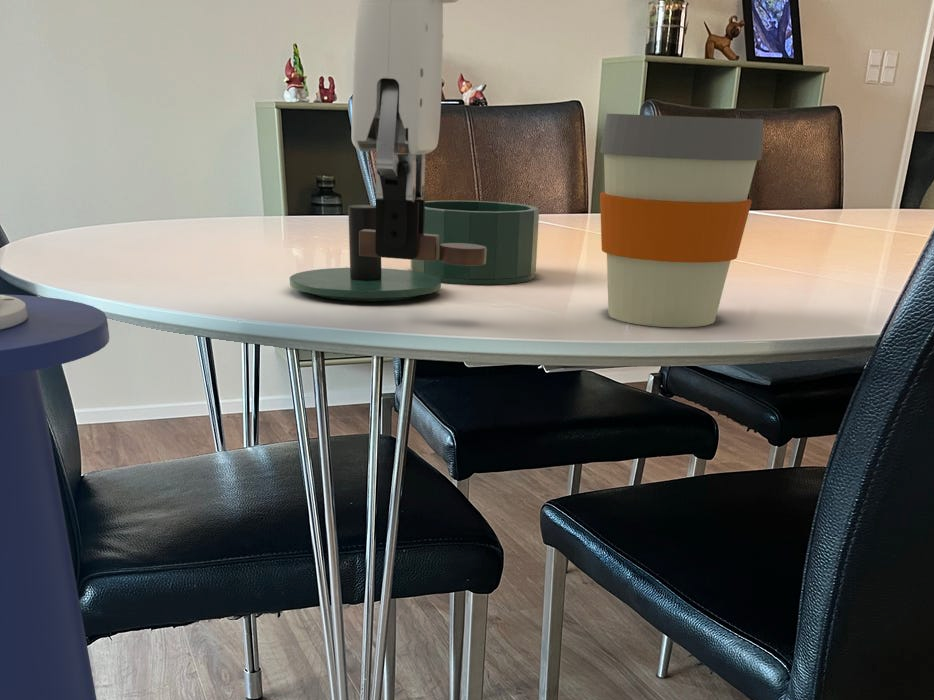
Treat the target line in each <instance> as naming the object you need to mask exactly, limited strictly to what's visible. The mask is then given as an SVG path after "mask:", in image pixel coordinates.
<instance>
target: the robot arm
mask: <svg viewBox="0 0 934 700" xmlns="http://www.w3.org/2000/svg"><path fill="white" fill-rule="evenodd" d="M457 2H459V0H358V2H357V10H356V12H357V13H356V21H355V32H354V33H355V34H354V51H353V71H352V72H353V75H352V99H351V100H352V101H351V103H352V105H351V130H350V131H351V132H350V133H351V143H352V144H353V146H354V148H355V149H356V150H357V151H358V152H364V153H365V152H375V154H376V155H375V195H376V198H375V206H376V236H375V252H376V254H377V255H378V256H380V257H381V258H383V257H391V258H390V259H396V258H403V259H402V260H409V259H414V258H416V257H417V255H418V233H424V211H425V201H426V199H424V197H425V183H426V182H425V181H426V180H425V179H426V177H425V176H426V155H427V154H430V153H432V152H434V150H435V149H436V148H438V144H439V139H440V128H441V115H442V113H441V111H442V90H443V89H442V88H443V44H444V43H443V41H444V31H443V30H444V4H452V3H457ZM399 148H405V149H404V151H398V149H399ZM27 317H28V314H27V310H26V305H25V303H24V302H23V301H21V300H20V299H17V298H14V297H10V296H5V295H0V330H4V329H8V328H12V327H14V326H17V325H19V324H21V323H23V322H24V321H26V319H27Z"/></svg>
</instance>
